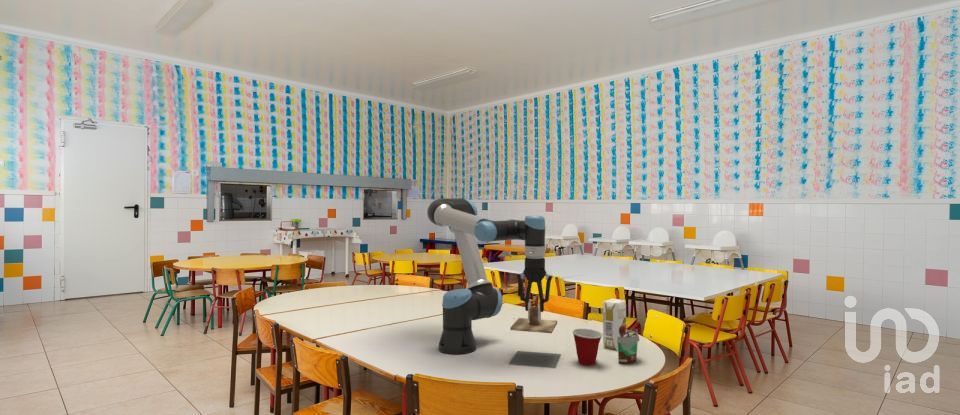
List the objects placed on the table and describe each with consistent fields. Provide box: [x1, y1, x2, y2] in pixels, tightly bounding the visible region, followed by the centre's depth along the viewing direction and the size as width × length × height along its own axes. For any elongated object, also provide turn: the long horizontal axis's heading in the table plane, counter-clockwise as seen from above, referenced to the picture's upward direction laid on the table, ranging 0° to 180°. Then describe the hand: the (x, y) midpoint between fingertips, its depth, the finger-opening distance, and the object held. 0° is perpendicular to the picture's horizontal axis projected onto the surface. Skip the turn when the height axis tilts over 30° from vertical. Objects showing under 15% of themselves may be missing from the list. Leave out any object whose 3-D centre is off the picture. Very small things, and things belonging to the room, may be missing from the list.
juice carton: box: [602, 298, 627, 351], centre depth 204 cm, size 8×9×19 cm
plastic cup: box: [572, 328, 603, 367], centre depth 183 cm, size 11×11×12 cm
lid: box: [510, 306, 558, 334], centre depth 188 cm, size 15×15×7 cm
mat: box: [508, 350, 562, 369], centre depth 188 cm, size 17×17×1 cm
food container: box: [617, 329, 640, 365], centre depth 186 cm, size 12×6×10 cm, turn 148°
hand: (534, 319), depth 188 cm, fingers closed on lid, 3 cm apart
